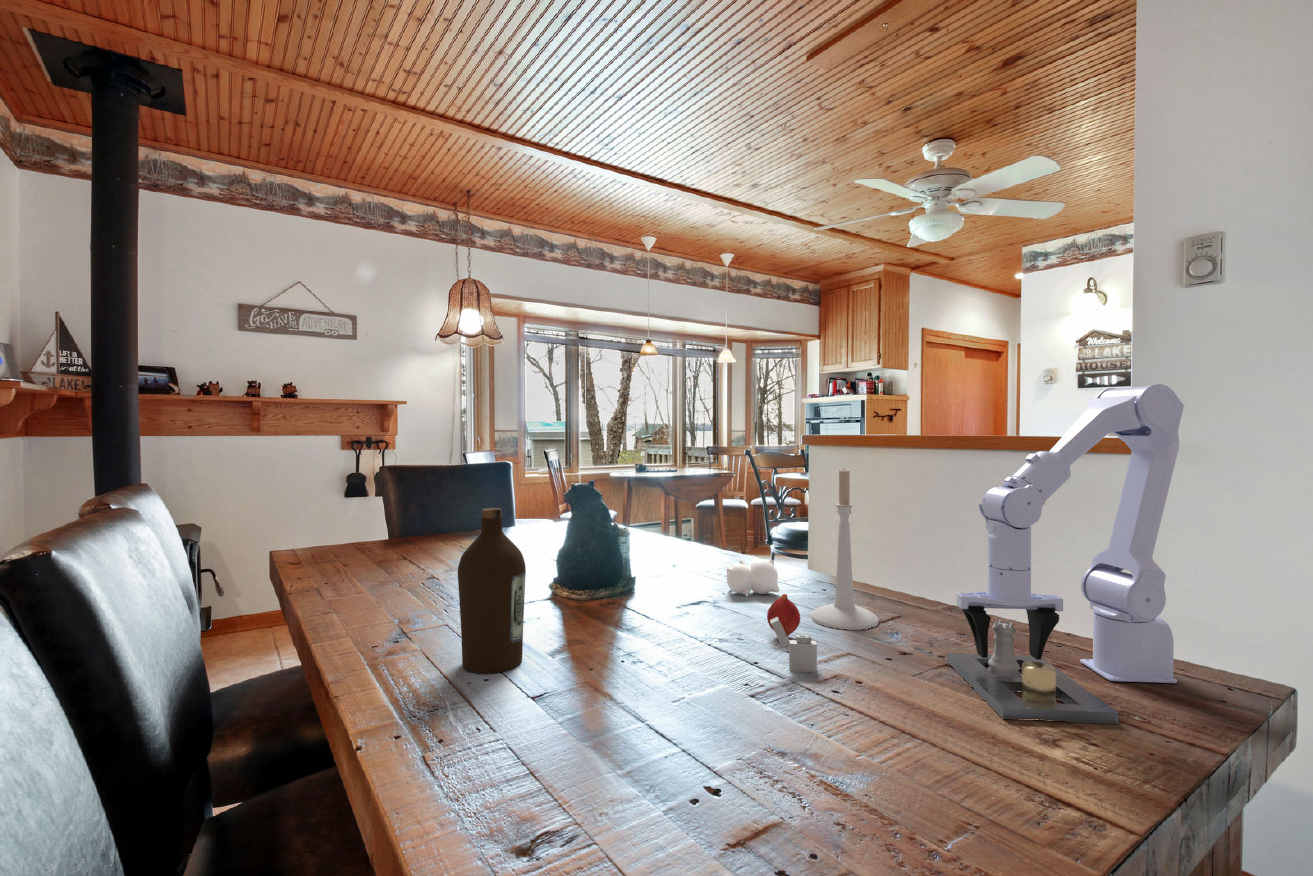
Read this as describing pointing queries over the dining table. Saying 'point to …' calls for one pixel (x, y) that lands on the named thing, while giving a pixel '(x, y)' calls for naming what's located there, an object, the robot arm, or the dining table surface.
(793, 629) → the onion
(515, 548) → the olive oil
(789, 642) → the lighter
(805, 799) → the dining table surface
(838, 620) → the candlestick
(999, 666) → the rook chess piece
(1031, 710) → the bolt plate
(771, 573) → the cat figurine
